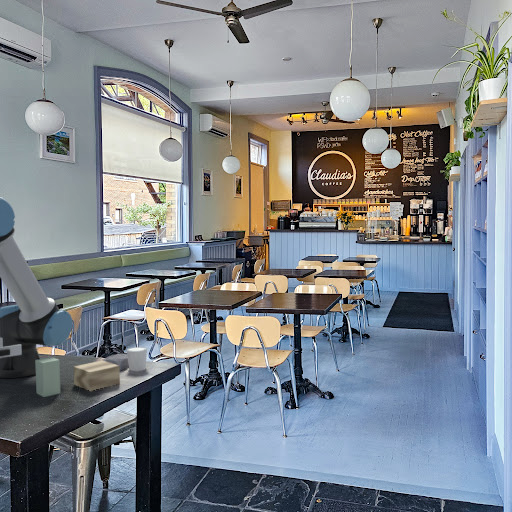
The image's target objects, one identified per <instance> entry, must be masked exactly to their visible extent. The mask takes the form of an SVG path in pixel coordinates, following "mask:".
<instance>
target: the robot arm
mask: <svg viewBox="0 0 512 512" xmlns="http://www.w3.org/2000/svg"><path fill="white" fill-rule="evenodd" d="M15 219H16V215H15V211H14V209H13V207H12V205H11V204H10V203H9V202H8V201H7V200H6V199H5V198H3V197H2V196H0V279H1V280H2V283H3V284H4V286H5V287H6V289H7V290H8V292H9V293H10V295H11V297H12V298H13V299H12V300H13V301H14V302H15V304H12V305H6V306H2V307H0V379H1V378H2V379H12V378H13V379H15V378H23V377H24V378H25V377H29V376H33V375H36V363H35V360H38V359H42V358H41V356H40V353H39V351H38V349H37V345H38V346H45V347H46V346H47V347H58V346H61V345H63V344H65V342H67V340H68V339H69V337H70V335H71V333H72V329H73V318H72V315H71V314H70V313H69V311H66V310H65V309H60V308H59V307H58V305H57V303H56V301H55V300H54V299H53V298H52V297H47V296H46V293H45V292H44V290H43V288H42V286H41V285H40V283H39V281H38V279H37V278H36V276H35V274H34V272H33V270H32V269H31V267H30V265H29V264H28V262H27V260H26V258H25V256H24V254H23V253H22V251H21V249H20V248H19V246H18V244H17V242H16V240H15V239H14V234H15V231H16V230H15V228H14V226H15Z"/></svg>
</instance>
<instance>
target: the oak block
mask: <svg viewBox="0 0 512 512" xmlns="http://www.w3.org/2000/svg"><path fill="white" fill-rule="evenodd" d="M120 372H121V371H120V368H119V365H115V364H112V363H109V362H106V361H103V359H102V360H98V361H94V362H89V363H84V364H79V365H75V366H73V384H74V385H73V386H76V387H78V386H79V388H82V389H83V388H84V389H83V390H86V391H88V390H89V391H88V392H94V391H93V390H95V391H97V390H96V389H99V390H101V389H100V388H103V389H105V388H104V387H107V388H109V387H108V386H111V387H113V386H112V385H115V386H117V385H116V384H119V385H120V384H121V377H120V375H121V374H120Z"/></svg>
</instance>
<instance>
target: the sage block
mask: <svg viewBox="0 0 512 512" xmlns="http://www.w3.org/2000/svg"><path fill="white" fill-rule="evenodd" d="M35 363H36V374H35V383H36V384H35V386H36V394H37V395H38V396H40V397H43V398H45V397H50V396H54V395H55V396H56V395H59V394H61V374H60V373H61V371H60V366H61V365H60V359H58V358H55V357H53V356H50V357H46V358H45V357H44V358H41V359H38V360H35Z"/></svg>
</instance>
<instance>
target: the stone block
mask: <svg viewBox="0 0 512 512" xmlns="http://www.w3.org/2000/svg"><path fill="white" fill-rule="evenodd" d="M102 360H103V361H106V362H109V363H112V364H115V365H119V368H120V372H122V371H123V370H125V369H126V368H129V365H128V357H127V353H117V354H113V355H109V356H107V357H105V358H103V359H102Z"/></svg>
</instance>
